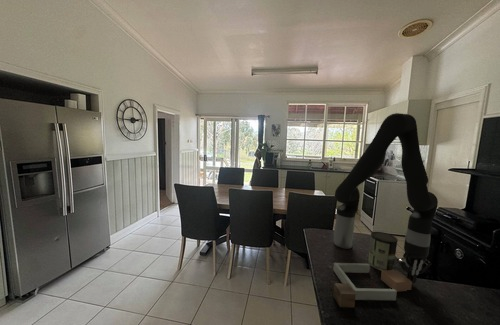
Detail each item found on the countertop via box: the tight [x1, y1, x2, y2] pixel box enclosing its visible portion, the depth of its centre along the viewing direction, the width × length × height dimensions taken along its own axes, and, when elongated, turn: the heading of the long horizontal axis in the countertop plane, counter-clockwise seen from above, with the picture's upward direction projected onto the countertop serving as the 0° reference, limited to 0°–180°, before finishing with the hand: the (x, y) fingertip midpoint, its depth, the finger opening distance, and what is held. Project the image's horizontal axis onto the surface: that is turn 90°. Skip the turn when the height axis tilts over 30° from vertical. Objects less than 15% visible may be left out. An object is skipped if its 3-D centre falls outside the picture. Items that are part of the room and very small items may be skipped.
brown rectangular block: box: [380, 269, 413, 292], centre depth 81 cm, size 7×7×4 cm
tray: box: [332, 262, 398, 301], centre depth 80 cm, size 16×15×4 cm
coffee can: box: [367, 231, 398, 272], centre depth 94 cm, size 10×10×14 cm
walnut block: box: [332, 282, 356, 308], centre depth 71 cm, size 5×5×5 cm
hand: (411, 281), depth 82 cm, fingers closed
